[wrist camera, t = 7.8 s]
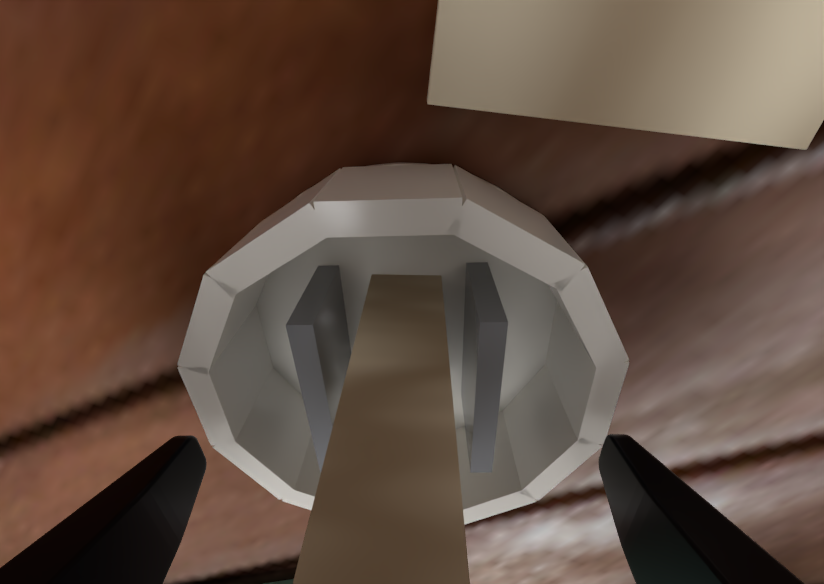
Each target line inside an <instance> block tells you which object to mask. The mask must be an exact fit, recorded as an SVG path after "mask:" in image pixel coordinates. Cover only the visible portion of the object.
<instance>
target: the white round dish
mask: <svg viewBox="0 0 824 584" xmlns="http://www.w3.org/2000/svg"><path fill="white" fill-rule="evenodd" d="M372 274H385V275H441V277H442V288H443V299H444V310H445V321H446V332H447V342H448V353H449V364H450V375H451V386H452V397H453V407H454V418H455V429H456V440H457V451H458V462H459V472H460V483H461V494H462V505H463V516H464V525H465V524H468V523H471V522H474V521H477V520H480V519H483V518H487V517H490V516H493V515H496V514H499V513H502V512H505V511H509V510H512V509H515V508H518V507H521V506H524V505H527V504H531V503H534V502H536V500H540V499H541V498H542V497H543V496H544V495H546V494H547V493H548V492H549V491H550V490H552V489H553V488H554V487H555V486H556V485H557V484H559V483H560V482H561V481H562V480H563V479H565V478H566V477H567V476H568V475H569V474H570V473H572V472H573V471H574V470H575V469H576V468H578V467H579V466H580V465H581V464H582V463H583V462H585V461H586V460H587V459H588V458H589V457H591V456H592V455H593V454H594V453H595V452H596V451H598V450H599V449H600V448H601V447H602V444H604V441H605V438H606V437H607V433H608V430H609V427H610V424H611V420H612V417H613V414H614V411H615V408H616V404H617V401H618V398H619V395H620V392H621V388H622V385H623V382H624V379H625V376H626V372H627V369H628V366H629V362H628V360H629V358H628V356H627V354H626V351H625V349H624V347H623V345H622V342H621V340H620V338H619V336H618V333H617V331H616V329H615V327H614V324H613V322H612V320H611V318H610V315H609V313H608V311H607V309H606V306H605V304H604V302H603V300H602V298H601V295H600V293H599V291H598V289H597V286H596V284H595V282H594V280H593V277H592V275H591V273H590V271H589V268H588V266H587V265H586V264H585V263H584V262H583V261H582V259H581V258H580V257H579V256H578V255H577V254H576V252H575V251H574V250H573V249H572V248H571V247H570V245H569V244H568V243H567V242H566V241H565V240H564V238H563V237H562V236H561V235H560V234H559V233H558V231H557V230H556V229H555V228H554V227H553V226H552V224H551V223H550V222H549V221H548V220H547V219H546V217H545V216H544V215H542V214H541V213H539V212H537V211H535V210H534V209H532V208H530V207H528V206H527V205H525V204H523V203H521V202H520V201H518V200H517V199H515V198H514V197H512V196H511V195H509V194H508V193H507V192H505V191H504V190H502V189H501V188H499V187H498V186H495V185H493V184H491V183H489V182H487V181H485V180H483V179H481V178H479V177H477V176H475V175H472V174H470V173H469V172H467V171H465V170H463V169H462V168H460V167H458V166H456V165H454V167H452V164H426V163H405V162H395V163H385V164H375V165H369V166H362V167H343V168H342V169H340V168H339V169H338V170H336V171H335V172H334V173H332V174H331V175H329V176H328V177H326V178H325V179H323V180H322V181H320V182H319V183H317V184H316V185H314V186H312V187H311V188H309V189H307V190H306V191H304V192H302V193H301V194H300V195H298V196H297V197H296V198H295V199H293V200H292V201H291V202H289V203H288V204H286V205H285V206H283V207H282V208H280V209H279V210H278V211H276V212H275V213H273V214H272V215H270V216H269V217H267V218H266V219H264V220H263V221H261V222H260V223H259V224H258V225H257V226H256V227H254V228H253V229H252V230H251V231H250V232H249V233H248V234H247V235H246V236H245V237H243V238H242V239H241V240H240V241H239V242H238V243H237V244H236V245H235V246H234V247H232V248H231V249H230V250H229V251H228V252H227V253H226V254H225V255H224V256H223V257H221V258H220V259H219V260H218V261H217V262H216V263H215V264H214V265H213V266H212V267H210V268H209V269H208V270H207V271H206V273H205V274H204V275H203V279H202V282H201V285H200V289H199V292H198V296H197V299H196V302H195V306H194V309H193V313H192V316H191V320H190V323H189V326H188V330H187V333H186V337H185V340H184V343H183V347H182V350H181V354H180V357H179V361H178V364H177V365H179V366H178V370H179V372H180V375H181V377H182V379H183V382H184V384H185V386H186V389H187V391H188V393H189V396H190V398H191V400H192V403H193V405H194V407H195V409H196V412H197V414H198V416H199V419H200V421H201V423H202V426H203V428H204V430H205V433H206V435H207V437H208V440H209V442H210V444H211V445H214V446H213V448H214V449H215V450H217V451H218V452H219V453H221V454H222V455H223V456H224V457H226V458H227V459H228V460H229V461H231V462H232V463H233V464H235V465H236V466H237V467H238V468H240V469H241V470H242V471H243V472H245V473H246V474H247V475H249V476H250V477H251V478H252V479H254V480H255V481H256V482H257V483H259V484H260V485H261V486H263V487H264V488H265V489H266V490H268V491H269V492H270V493H272V494H273V495H274V496H275V497H277V498H278V499H279V500H280V499H282V498H283V499H282V501H284V502H287V503H290V504H293V505H296V506H299V507H302V508H306V509H309V510H312V506H313V502H314V498H315V494H316V490H317V487H318V483H319V479H320V475H321V471H322V467H323V463H324V459H325V455H326V451H327V447H328V443H329V440H330V436H331V432H332V428H333V424H334V420H335V416H336V412H337V408H338V404H339V400H340V396H341V393H342V389H343V385H344V381H345V377H346V373H347V369H348V365H349V361H350V357H351V353H352V349H353V346H354V342H355V338H356V334H357V330H358V326H359V322H360V318H361V314H362V310H363V306H364V303H365V299H366V295H367V291H368V287H369V283H370V279H371V275H372Z"/></svg>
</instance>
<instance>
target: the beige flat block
mask: <svg viewBox="0 0 824 584" xmlns="http://www.w3.org/2000/svg"><path fill="white" fill-rule="evenodd" d="M427 104H430V105H438V106H446V107H455V108H463V109H471V110H480V111H488V112H496V113H505V114H513V115H521V116H529V117H538V118H546V119H554V120H563V121H571V122H579V123H588V124H596V125H604V126H613V127H621V128H629V129H637V130H646V131H654V132H662V133H671V134H679V135H687V136H696V137H704V138H712V139H720V140H729V141H737V142H745V143H754V144H762V145H770V146H779V147H787V148H795V149H804V150H806V149H807V148H808V146H809V144H810V143H811V141H812V139H813V137H814V136H815V134H816V132H817V131H818V129H819V127H820V125H821V124H822V122H823V120H824V0H438V5H437V14H436V23H435V32H434V40H433V49H432V58H431V67H430V76H429V85H428V94H427Z"/></svg>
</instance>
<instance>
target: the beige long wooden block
mask: <svg viewBox="0 0 824 584" xmlns="http://www.w3.org/2000/svg"><path fill="white" fill-rule="evenodd" d="M293 584H470V581H469V570H468V559H467V548H466V537H465V527H464V516H463V505H462V494H461V483H460V472H459V462H458V451H457V440H456V429H455V418H454V407H453V397H452V386H451V375H450V364H449V353H448V342H447V332H446V321H445V310H444V299H443V288H442V277H441V275H385V274H372V275H371V279H370V283H369V287H368V291H367V295H366V299H365V303H364V306H363V310H362V314H361V318H360V322H359V326H358V330H357V334H356V338H355V342H354V346H353V349H352V353H351V357H350V361H349V365H348V369H347V373H346V377H345V381H344V385H343V389H342V393H341V396H340V400H339V404H338V408H337V412H336V416H335V420H334V424H333V428H332V432H331V436H330V440H329V443H328V447H327V451H326V455H325V459H324V463H323V467H322V471H321V475H320V479H319V483H318V487H317V490H316V494H315V498H314V502H313V506H312V510H311V514H310V518H309V522H308V526H307V530H306V533H305V537H304V541H303V545H302V549H301V553H300V557H299V561H298V565H297V569H296V573H295V577H294V580H293Z"/></svg>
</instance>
